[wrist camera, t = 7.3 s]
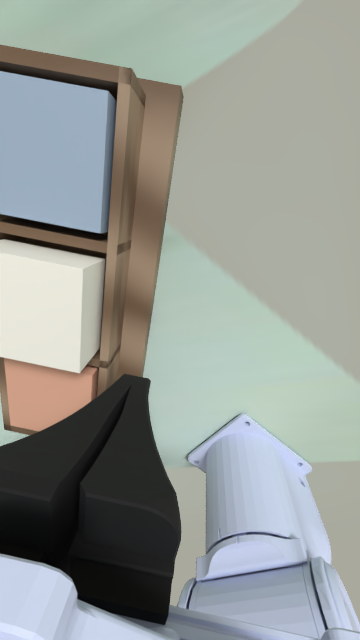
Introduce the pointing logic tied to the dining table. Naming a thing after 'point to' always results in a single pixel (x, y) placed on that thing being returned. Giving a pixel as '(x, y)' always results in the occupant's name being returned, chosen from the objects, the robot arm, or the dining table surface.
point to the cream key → (49, 305)
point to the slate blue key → (56, 152)
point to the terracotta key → (46, 393)
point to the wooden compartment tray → (113, 206)
